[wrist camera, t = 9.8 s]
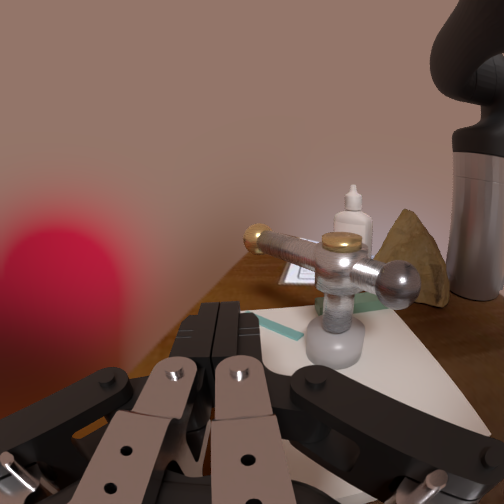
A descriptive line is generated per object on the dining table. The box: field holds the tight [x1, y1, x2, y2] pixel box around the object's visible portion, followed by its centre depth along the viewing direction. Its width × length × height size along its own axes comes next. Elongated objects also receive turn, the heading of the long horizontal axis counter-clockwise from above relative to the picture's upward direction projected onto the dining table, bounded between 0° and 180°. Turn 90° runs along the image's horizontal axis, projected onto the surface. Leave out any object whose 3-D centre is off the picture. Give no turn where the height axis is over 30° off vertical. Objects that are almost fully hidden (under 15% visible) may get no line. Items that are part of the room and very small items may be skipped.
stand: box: [240, 292, 491, 504], centre depth 16 cm, size 14×18×5 cm
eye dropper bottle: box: [334, 185, 373, 259], centre depth 37 cm, size 4×6×12 cm
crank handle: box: [243, 223, 421, 333], centre depth 18 cm, size 15×3×6 cm, turn 34°
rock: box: [374, 209, 450, 307], centre depth 28 cm, size 11×9×10 cm
